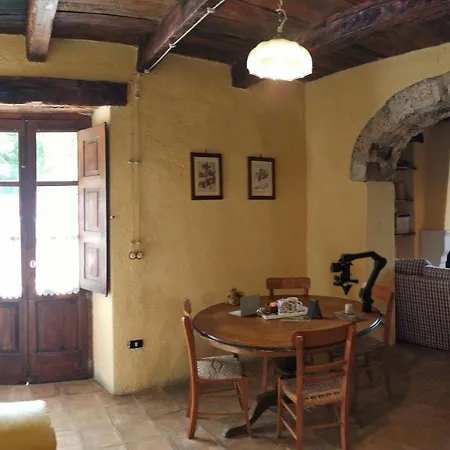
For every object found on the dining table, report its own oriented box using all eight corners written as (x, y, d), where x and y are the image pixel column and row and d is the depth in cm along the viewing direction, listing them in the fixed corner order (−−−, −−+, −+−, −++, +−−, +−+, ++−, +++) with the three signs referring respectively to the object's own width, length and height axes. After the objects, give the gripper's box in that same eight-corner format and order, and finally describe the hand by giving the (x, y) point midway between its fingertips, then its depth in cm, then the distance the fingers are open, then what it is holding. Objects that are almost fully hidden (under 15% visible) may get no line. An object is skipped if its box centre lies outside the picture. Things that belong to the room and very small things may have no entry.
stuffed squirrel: (223, 304, 366) (223, 286, 365) (239, 301, 374) (238, 284, 373) (231, 306, 358) (231, 288, 357) (247, 303, 366) (246, 286, 365)
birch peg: (348, 317, 319) (348, 303, 318) (353, 318, 315) (353, 304, 315) (343, 318, 316) (343, 304, 316) (348, 319, 313) (348, 305, 312)
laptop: (247, 309, 347) (247, 291, 346) (260, 312, 338) (259, 293, 337) (228, 313, 335) (228, 295, 334) (240, 317, 326) (240, 297, 325)
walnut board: (346, 314, 326) (346, 310, 325) (364, 319, 312) (364, 314, 312) (333, 317, 319) (333, 312, 319) (351, 322, 306) (351, 317, 306)
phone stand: (311, 319, 315) (311, 300, 315) (305, 317, 321) (305, 299, 320) (322, 317, 319) (322, 299, 319) (317, 315, 325) (316, 297, 324)
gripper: (347, 269, 341) (347, 291, 342) (327, 272, 332) (327, 294, 332) (359, 271, 332) (359, 294, 333) (339, 274, 322) (339, 297, 323)
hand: (346, 295), depth 330 cm, fingers closed
